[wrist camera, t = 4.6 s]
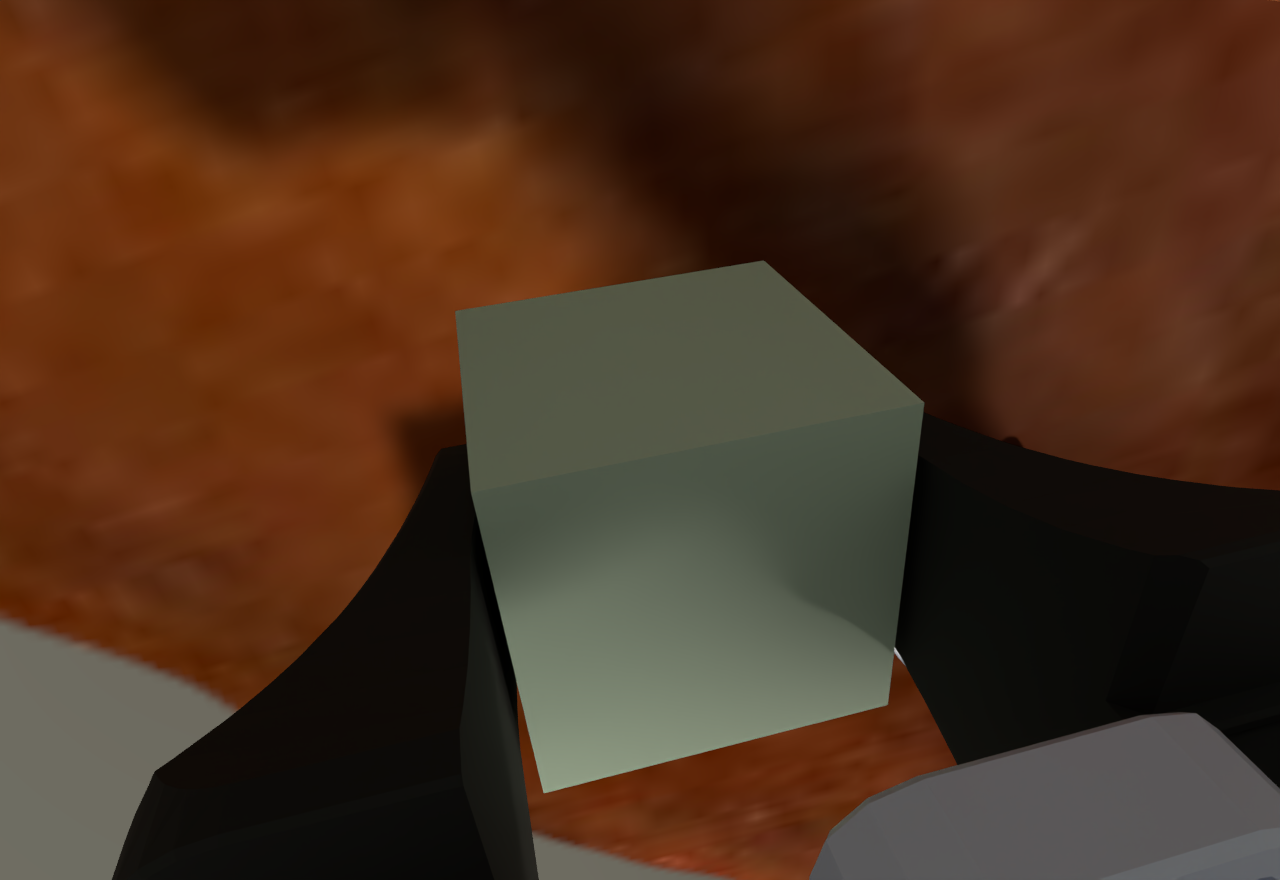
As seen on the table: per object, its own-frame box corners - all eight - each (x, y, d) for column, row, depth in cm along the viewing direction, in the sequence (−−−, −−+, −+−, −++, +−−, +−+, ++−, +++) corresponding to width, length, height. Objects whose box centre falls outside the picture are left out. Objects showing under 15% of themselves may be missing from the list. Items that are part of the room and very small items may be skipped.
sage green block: (763, 505, 16) (887, 704, 11) (510, 559, 15) (543, 793, 11) (763, 260, 13) (924, 402, 9) (455, 311, 12) (471, 493, 8)
